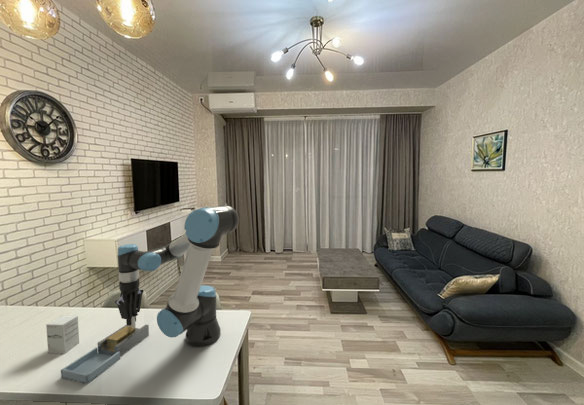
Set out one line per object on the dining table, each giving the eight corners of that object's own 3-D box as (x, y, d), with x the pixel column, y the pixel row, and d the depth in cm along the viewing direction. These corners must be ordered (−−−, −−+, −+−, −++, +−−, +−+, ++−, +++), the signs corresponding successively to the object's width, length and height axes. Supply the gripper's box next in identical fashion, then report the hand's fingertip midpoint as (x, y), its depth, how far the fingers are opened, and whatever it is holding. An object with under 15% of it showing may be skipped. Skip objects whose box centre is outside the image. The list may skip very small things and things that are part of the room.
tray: (120, 358, 102) (119, 351, 102) (87, 384, 89) (87, 375, 89) (96, 354, 105) (95, 347, 105) (61, 377, 92) (60, 370, 92)
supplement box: (47, 353, 105) (44, 324, 104) (64, 342, 112) (62, 314, 111) (64, 354, 105) (62, 324, 104) (80, 342, 112) (78, 315, 111)
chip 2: (135, 335, 113) (135, 328, 113) (126, 341, 109) (126, 333, 109) (126, 333, 115) (125, 326, 114) (117, 339, 110) (116, 332, 110)
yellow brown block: (126, 341, 109) (126, 333, 109) (117, 348, 105) (116, 340, 104) (117, 339, 110) (116, 332, 110) (107, 346, 106) (107, 338, 106)
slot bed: (148, 335, 118) (148, 324, 117) (118, 358, 102) (117, 346, 102) (131, 332, 120) (130, 322, 120) (98, 354, 105) (97, 343, 104)
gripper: (134, 273, 120) (136, 321, 122) (108, 284, 107) (111, 337, 109) (148, 275, 118) (150, 323, 120) (123, 286, 105) (125, 340, 107)
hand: (131, 330), depth 115 cm, fingers closed
